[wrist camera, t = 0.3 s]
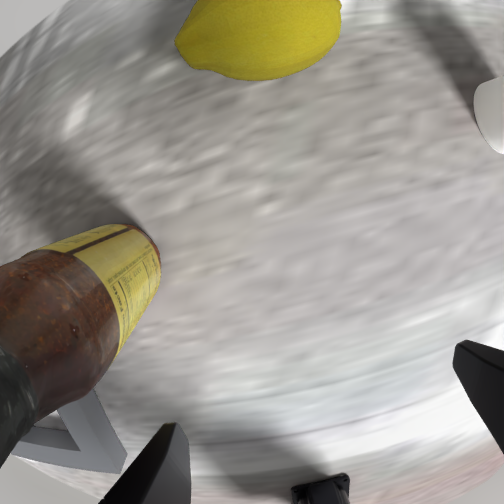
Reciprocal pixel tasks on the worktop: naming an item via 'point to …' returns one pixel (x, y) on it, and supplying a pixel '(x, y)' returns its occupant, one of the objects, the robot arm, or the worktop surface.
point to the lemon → (258, 36)
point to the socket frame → (76, 440)
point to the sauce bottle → (68, 320)
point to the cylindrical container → (491, 112)
